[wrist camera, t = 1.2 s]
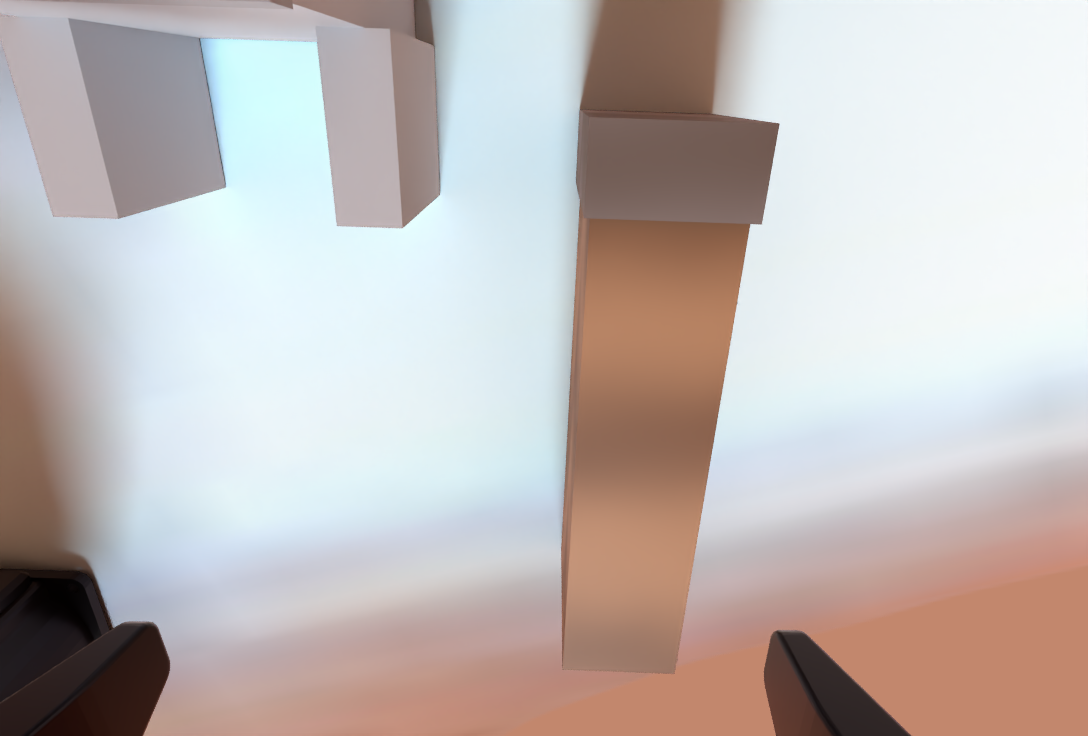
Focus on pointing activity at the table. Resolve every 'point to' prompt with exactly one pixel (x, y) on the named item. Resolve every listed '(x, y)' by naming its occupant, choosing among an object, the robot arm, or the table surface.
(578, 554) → the rail
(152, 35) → the grey block with legs
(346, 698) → the table surface
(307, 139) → the table surface
